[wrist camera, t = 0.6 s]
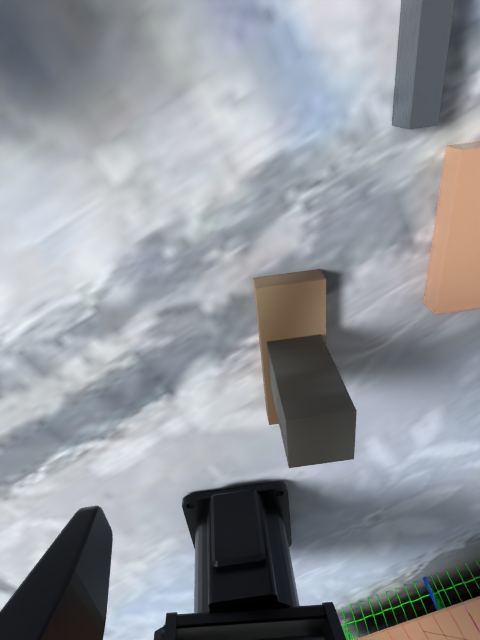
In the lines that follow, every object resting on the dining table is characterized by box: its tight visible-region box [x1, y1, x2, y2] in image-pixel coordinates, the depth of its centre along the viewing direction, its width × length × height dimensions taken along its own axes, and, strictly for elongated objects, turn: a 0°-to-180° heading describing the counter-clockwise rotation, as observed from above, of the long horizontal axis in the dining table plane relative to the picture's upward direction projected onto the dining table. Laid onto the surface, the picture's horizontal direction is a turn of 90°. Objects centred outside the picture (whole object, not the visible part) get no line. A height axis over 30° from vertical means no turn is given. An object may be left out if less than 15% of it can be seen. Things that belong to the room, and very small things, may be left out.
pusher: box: [253, 269, 356, 468], centre depth 17 cm, size 3×8×6 cm, turn 6°
